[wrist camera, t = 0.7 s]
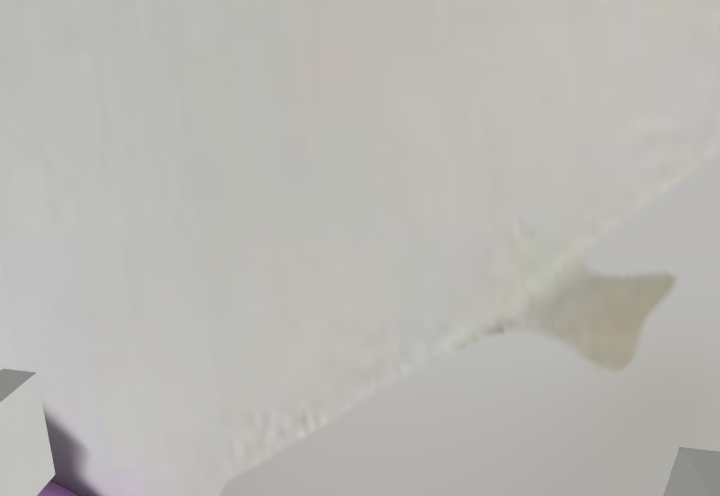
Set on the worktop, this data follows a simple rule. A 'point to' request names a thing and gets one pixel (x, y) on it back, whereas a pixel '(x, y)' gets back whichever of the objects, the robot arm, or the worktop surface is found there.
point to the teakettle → (55, 490)
